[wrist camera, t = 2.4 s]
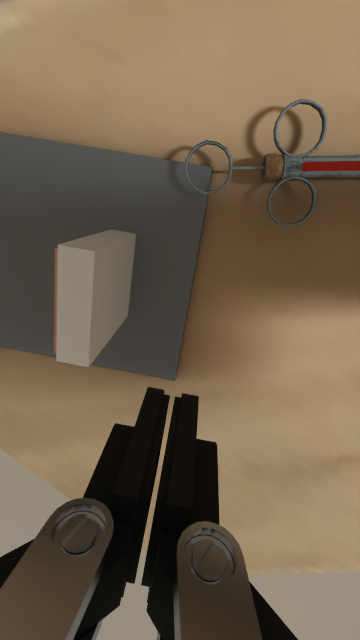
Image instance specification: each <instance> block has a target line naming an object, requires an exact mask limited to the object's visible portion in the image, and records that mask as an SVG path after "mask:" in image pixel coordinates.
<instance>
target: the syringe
mask: <svg viewBox="0 0 360 640" xmlns="http://www.w3.org/2000/svg"><path fill="white" fill-rule="evenodd" d="M298 104H306V105H310V106H312V107H313V108H315V109H316V110H317V111H318V112H319V114H320V117H321V119H322V132H321V135H320V139H319V141H318V143H317V144H316V146H315V147H314V148H313V149H312V150H311V151H309V152H307V153H306V154H302V155H296V156H295V155H292V154H290V153H288V152H286V151H285V150H284V148H283V147H282V146H281V145H280V142H279V140H278V133H277V129H278V125H279V121H280V120H281V118H282V116H283V114H284V113H285V112H286V111H287V110H288V109H289V108H291V107H293V106H295V105H298ZM326 131H327V116H326V114H325V112H324V109H323V107H321V106H320V105H318V104H317V103H316V102H314V101H312V100H306V99H299V100H297V101H295V102H293V103H290V104H289V105H288V106H287V107H286V108H285V109H284V110H283V111H282V112H281V113H280V115H279V117H278V119H277V120H276V122H275V126H274V131H273V132H274V142H275V144H276V147H277V148H278V150H279V151H280V152H281V153H282V154H283V156H280V155H277V154H267V155H265V156H264V159H263V166H244V167H233V163H232V157H231V155H230V153H229V151H228V149H227V148H225V147H224V146H223V145H221V144H220V143H218V142H213V141H207V140H206V141H204V142H202V143H199V144H197V145H196V146H195V147H194V148H193V149H192V150H191V151H190V152H189V154H188V157H187V159H186V162H185V175H186V178H187V180H188V182H189V184H190V185H191V186H192V187H193V188H194V189H195V190H196V191H198V192H200V193H202V194H205V195H206V194H211V193H216V192H218V191H219V190H221V189H222V188H224V187H226V185H227V183H228V182H229V180H230V179H231V175H232V170H244V169H262V180H264V181H275V180H277V179H280V181H279V182H278V183H277V184H276V185H275V186H274V187H273V188H272V190H271V192H270V193H269V196H268V200H267V209H268V212H269V214H270V217H271V218H272V219H273V220H274V221H275V222H276V223H278V224H280V225H283V226H285V227H290V226H296V225H299V224H301V223H302V222H304V221H306V220H308V218H309V217H310V216H311V214H312V213H313V212H314V209H315V206H316V202H317V193H316V190H315V188H314V186H313V184H312V183H311V182H309V181H308V180H306V179H305V178H351V177H360V156H307V155H309V154H311V153H312V152H314V151H316V150H317V149H318V148H319V146H320V145H321V143H322V142H323V141H324V138H325V134H326ZM206 144H209V145H216V146H218V147H219V148H221V149H222V150H224V151H225V153H226V155H227V156H228V158H229V166H230V170H229V175H228V178H227V180H226V182H225V183H224V185H223V186H221V187H220V188H218V189H217V190H215V191H208V192H205V191H202V190H200V189H198V188H197V187H196V186H195V185H194V184H193V183H192V182H191V180H190V178H189V176H188V162H189V160H190V158H191V155H192V154H193V153H194V152H195V151H196V150H197V149H198V148H200V147H202V146H204V145H206ZM289 179H297V180H301V181H303V182H304V183H306V184H307V185H308V186H309V188H310V190H311V192H312V204H311V207H310V210H309V212H308V213H307V215H306V216H305V217H304V218H303V219H301V220H299V221H298V222H296V223H290V224H285V223H282V222H280V221H279V220H278V219H277V218H276V217H275V216H274V215H273V212H272V210H271V198H272V195H273V193H274V191H275V190H276V188H277V187H278V186H280V185H281V184H282V183H283V182H285V181H287V180H289Z"/></svg>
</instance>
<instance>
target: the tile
mask: <svg viewBox="0 0 360 640" xmlns="http://www.w3.org/2000/svg"><path fill="white" fill-rule="evenodd" d="M135 241H136V234H135V233H129V232H124V231H118V230H112V229H111V230H107V231H104V232H100V233H97V234H93V235H90V236H86V237H83V238H79V239H76V240H72V241H69V242H65V243H62V244H58V248H55V288H54V354H56V361H58V362H63V363H68V364H73V365H79V366H84V367H89V366H90V365H91V363H92V362H93V361H94V359H95V358H96V357H97V356H98V354H99V353H100V352H101V350H102V349H103V348H104V346H105V345H106V344H107V342H108V341H109V340H110V339H111V337H112V336H113V335H114V333H115V332H116V331H117V329H118V328H119V327H120V326H121V324H122V323H123V322H124V320H125V319H126V318H127V316H128V309H129V299H130V290H131V280H132V270H133V260H134V250H135Z"/></svg>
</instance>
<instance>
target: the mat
mask: <svg viewBox="0 0 360 640" xmlns="http://www.w3.org/2000/svg"><path fill="white" fill-rule="evenodd" d="M212 170H213V167H208V166H202V165H196V164H190V163H188V176H189V178H190V180H191V182H192V183H193V184H194V185H195V186H196V187H197V188H198V189H200V190H202V191H205V192H208V191H209V187H210V181H211V175H212ZM207 198H208V194H206V195H205V194H202V193H200V192H198V191H196V190H195V189H194V188H193V187H192V186H191V185H190V184H189V182H188V180H187V178H186V175H185V163H184V162H178V161H172V160H166V159H160V158H154V157H148V156H142V155H135V154H129V153H123V152H117V151H111V150H105V149H99V148H93V147H87V146H81V145H75V144H69V143H63V142H57V141H51V140H44V139H38V138H32V137H26V136H20V135H14V134H8V133H2V132H0V346H1V347H6V348H11V349H16V350H21V351H26V352H31V353H36V354H42V355H47V356H52V357H56V354H54V288H55V248H58V244H62V243H65V242H69V241H72V240H76V239H79V238H83V237H86V236H90V235H93V234H97V233H100V232H104V231H107V230H111V229H112V230H118V231H124V232H129V233H135V234H136V241H135V250H134V260H133V270H132V280H131V290H130V299H129V309H128V316H127V318H126V319H125V320H124V322H123V323H122V324H121V326H120V327H119V328H118V329H117V331H116V332H115V333H114V335H113V336H112V337H111V339H110V340H109V341H108V342H107V344H106V345H105V346H104V348H103V349H102V350H101V352H100V353H99V354H98V356H97V357H96V358H95V359H94V361H93V362H92V363H91V364H92V365H97V366H102V367H108V368H113V369H118V370H123V371H128V372H133V373H138V374H143V375H148V376H153V377H158V378H163V379H169V380H174V381H175V379H176V373H177V367H178V362H179V356H180V350H181V345H182V339H183V333H184V328H185V322H186V317H187V311H188V305H189V300H190V294H191V288H192V283H193V277H194V271H195V266H196V260H197V254H198V249H199V243H200V237H201V232H202V226H203V220H204V215H205V209H206V203H207Z"/></svg>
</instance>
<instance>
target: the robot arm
mask: <svg viewBox="0 0 360 640" xmlns="http://www.w3.org/2000/svg"><path fill="white" fill-rule="evenodd" d="M169 398H170V395H164V390H162V389H157V388H151V387H148V388H147V391H146V394H145V397H144V400H143V403H142V406H141V409H140V412H139V415H138V418H137V421H136V424H135V427H132V426H127V425H121V424H115V425H114V427H113V429H112V431H111V433H110V436H109V438H108V440H107V443H106V445H105V447H104V450H103V452H102V454H101V457H100V459H99V461H98V464H97V466H96V468H95V471H94V473H93V475H92V478H91V480H90V482H89V485H88V487H87V489H86V492H85V494H84V496H83V498H78V499H74V500H71V501H69V502H66V503H65V504H63V505H62V506H60V507H59V508H57V509H56V510H55V511H54V513H53V514H52V515H51V516H50V517H49V519H48V520H47V522H46V523H45V525H44V526H43V527H42V529H41V530H40V532H39V533H38V535H37V536H36V538H35V539H33V540H31V541H30V542H28V543H26V544H24V545H22V546H20V547H18V548H17V549H15V550H13V551H11V552H9V553H7V554H5V555H4V556H2V557H0V640H96V638H97V635H98V633H99V630H100V627H101V624H102V620H103V618H105V617H106V616H107V615H108V614H110V613H111V612H112V611H113V610H115V609H116V608H117V607H118V606H119V605H120V601H121V597H123V595H124V590H125V586H126V582H129V583H135V578H136V573H137V568H138V563H139V558H140V553H141V548H142V543H143V538H144V533H145V528H146V522H147V517H148V512H149V507H150V502H151V497H152V492H153V487H154V482H155V477H156V472H157V467H158V461H159V456H160V450H161V444H162V438H163V433H164V427H165V421H166V415H167V410H168V404H169ZM198 401H199V396H194V395H189V394H183V393H182V397H181V398H180V397H175V400H174V406H173V411H172V417H171V422H170V428H169V433H168V439H167V444H166V450H165V455H164V461H163V466H162V472H161V478H160V483H159V489H158V494H157V500H156V505H155V511H154V517H153V522H152V528H151V533H150V539H149V545H148V550H147V556H146V562H145V567H144V573H143V578H142V584H141V585H143V586H148V587H149V593H148V600H147V603H148V606H147V613H148V615H149V616H150V618H151V620H152V622H153V624H154V625H155V627H156V629H157V631H158V633H157V640H298V639H297V638H296V637H295V636H294V634H293V633H292V632H291V631H290V629H289V628H288V627H287V626H286V625H285V624H284V622H283V621H282V620H281V619H280V618H279V616H278V615H277V614H276V613H275V612H274V610H273V609H272V608H271V607H270V606H269V604H268V603H267V602H266V601H265V600H264V599H263V597H262V596H261V595H260V594H259V592H258V591H257V590H256V589H255V588H254V586H253V585H252V584H251V583H250V582H249V579H248V574H247V570H246V566H245V561H244V557H243V554H242V551H241V548H240V546H239V544H238V542H237V541H236V539H235V538H234V536H233V535H232V534H231V533H230V532H229V531H227V530H226V529H225V528H224V527H222V526H220V525H219V495H218V460H217V444H216V442H211V441H205V440H200V439H196V435H197V418H198Z"/></svg>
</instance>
